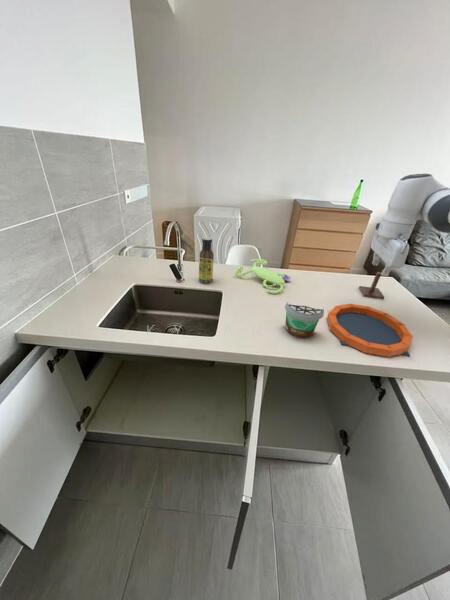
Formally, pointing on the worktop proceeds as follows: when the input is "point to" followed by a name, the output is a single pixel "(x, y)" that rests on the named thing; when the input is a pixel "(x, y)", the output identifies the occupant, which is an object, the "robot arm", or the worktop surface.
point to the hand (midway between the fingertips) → (379, 270)
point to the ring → (364, 345)
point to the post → (372, 289)
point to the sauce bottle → (206, 261)
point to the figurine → (266, 275)
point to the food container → (302, 320)
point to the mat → (368, 329)
